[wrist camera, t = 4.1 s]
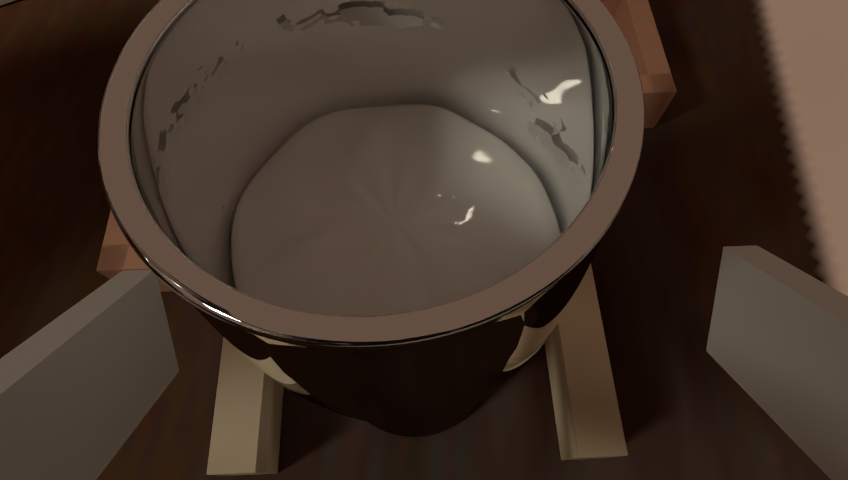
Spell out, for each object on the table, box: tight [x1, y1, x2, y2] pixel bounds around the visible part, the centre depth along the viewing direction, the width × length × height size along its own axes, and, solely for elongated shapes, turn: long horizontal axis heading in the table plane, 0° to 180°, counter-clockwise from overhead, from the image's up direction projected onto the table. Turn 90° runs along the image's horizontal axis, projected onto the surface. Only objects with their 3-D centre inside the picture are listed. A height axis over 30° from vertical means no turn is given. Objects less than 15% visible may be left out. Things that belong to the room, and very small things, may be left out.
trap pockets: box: [96, 0, 677, 292], centre depth 23 cm, size 14×23×2 cm, turn 93°
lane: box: [207, 263, 628, 475], centre depth 23 cm, size 31×13×4 cm, turn 3°
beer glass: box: [98, 0, 645, 437], centre depth 13 cm, size 7×7×15 cm
